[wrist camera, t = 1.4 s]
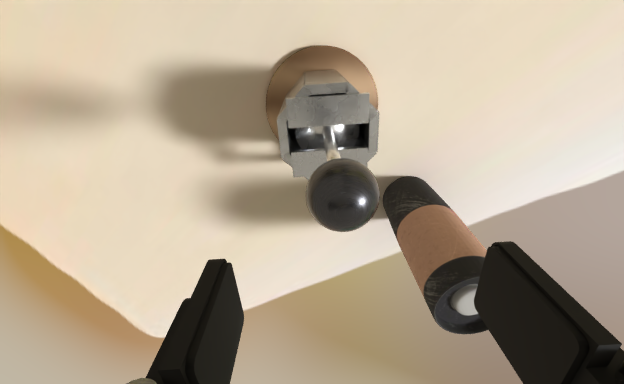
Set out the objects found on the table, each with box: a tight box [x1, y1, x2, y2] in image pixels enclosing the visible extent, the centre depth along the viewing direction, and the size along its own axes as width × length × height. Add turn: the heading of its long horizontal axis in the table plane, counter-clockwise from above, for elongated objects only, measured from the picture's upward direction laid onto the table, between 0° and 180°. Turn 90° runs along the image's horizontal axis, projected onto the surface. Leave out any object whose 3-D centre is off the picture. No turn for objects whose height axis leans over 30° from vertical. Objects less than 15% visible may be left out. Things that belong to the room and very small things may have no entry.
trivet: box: [266, 46, 378, 140], centre depth 36 cm, size 14×14×1 cm
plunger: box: [295, 124, 380, 232], centre depth 21 cm, size 6×6×15 cm
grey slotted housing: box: [277, 69, 379, 180], centre depth 31 cm, size 12×9×13 cm
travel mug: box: [383, 176, 489, 334], centre depth 34 cm, size 8×8×20 cm
